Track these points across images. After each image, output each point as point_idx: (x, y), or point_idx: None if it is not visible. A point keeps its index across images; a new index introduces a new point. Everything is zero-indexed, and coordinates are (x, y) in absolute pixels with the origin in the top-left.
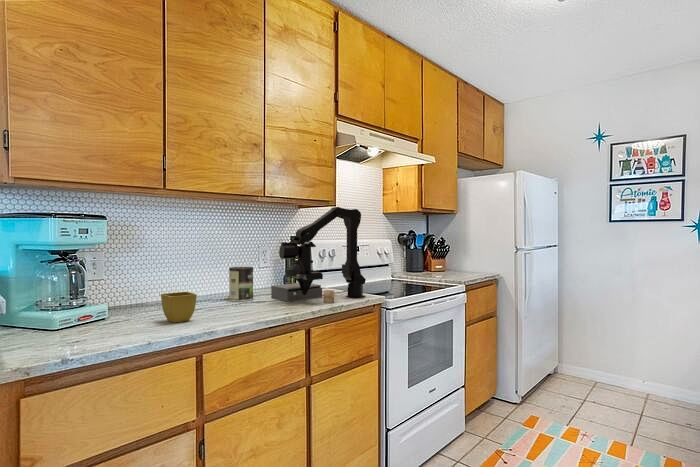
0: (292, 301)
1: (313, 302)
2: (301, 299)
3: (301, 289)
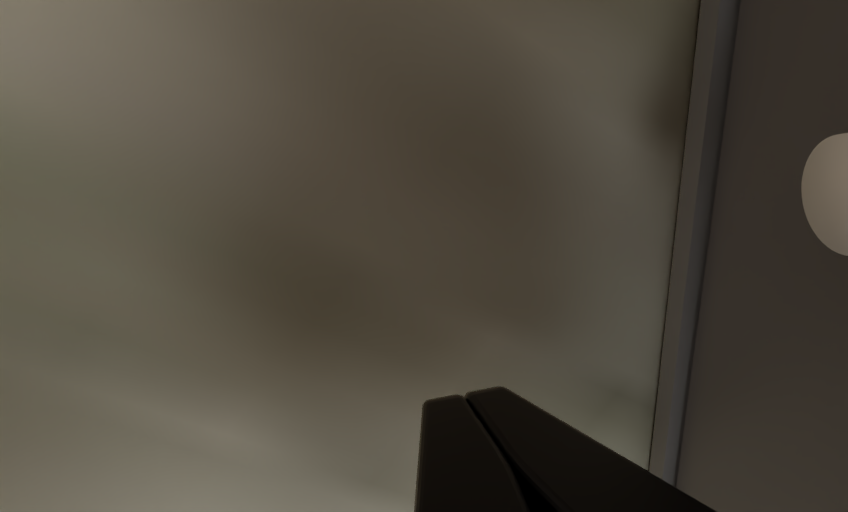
0: (701, 22)
1: (168, 468)
2: (678, 340)
3: (658, 502)
